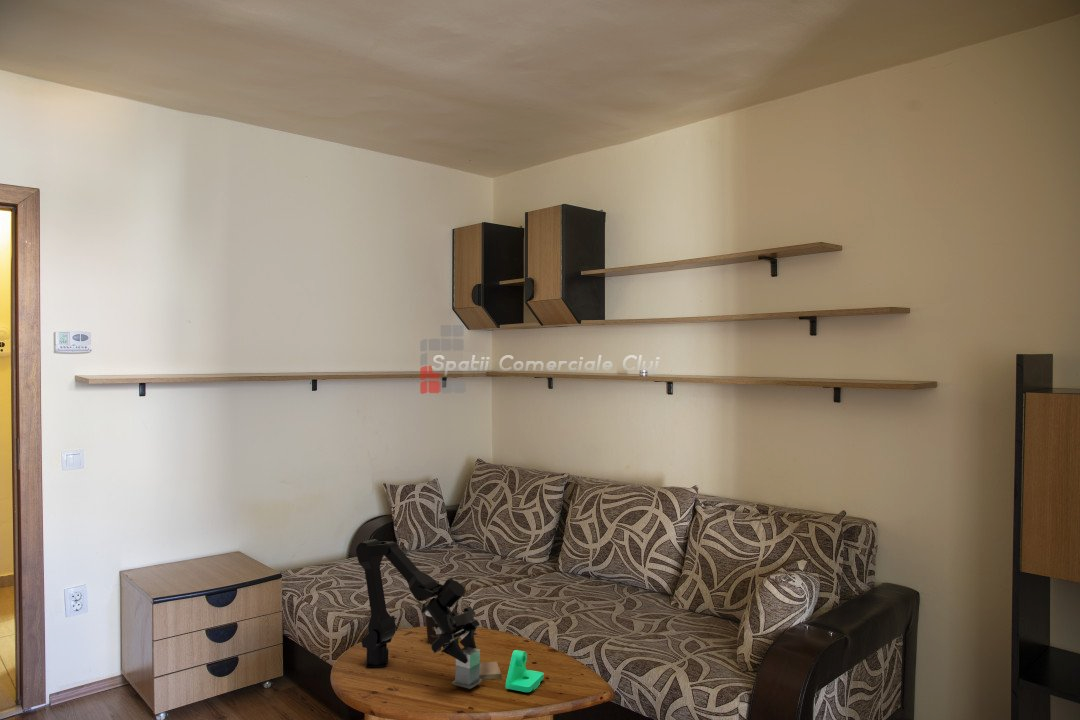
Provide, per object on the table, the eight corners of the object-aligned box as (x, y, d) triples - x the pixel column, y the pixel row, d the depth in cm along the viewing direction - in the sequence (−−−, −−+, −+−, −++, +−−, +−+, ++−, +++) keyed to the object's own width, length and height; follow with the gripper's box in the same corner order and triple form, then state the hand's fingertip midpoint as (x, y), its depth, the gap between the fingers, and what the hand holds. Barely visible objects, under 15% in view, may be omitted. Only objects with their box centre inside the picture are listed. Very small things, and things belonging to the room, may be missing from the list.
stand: (469, 680, 224) (469, 675, 224) (465, 668, 234) (465, 663, 234) (501, 678, 226) (501, 673, 226) (496, 666, 236) (496, 661, 236)
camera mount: (529, 696, 214) (529, 661, 214) (505, 692, 217) (506, 656, 217) (544, 681, 225) (545, 647, 225) (521, 677, 228) (522, 643, 228)
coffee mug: (421, 645, 254) (421, 616, 254) (429, 636, 262) (429, 608, 262) (453, 647, 252) (454, 618, 252) (460, 639, 260) (460, 610, 260)
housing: (452, 684, 217) (453, 651, 218) (464, 676, 223) (465, 645, 223) (470, 688, 214) (471, 656, 215) (482, 681, 220) (483, 649, 220)
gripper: (440, 608, 213) (471, 653, 208) (475, 592, 230) (504, 634, 224) (418, 630, 217) (447, 676, 211) (454, 613, 233) (482, 655, 228)
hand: (471, 659), depth 218 cm, fingers closed on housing, 5 cm apart
